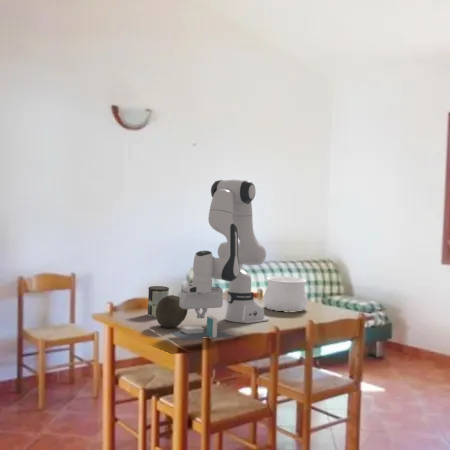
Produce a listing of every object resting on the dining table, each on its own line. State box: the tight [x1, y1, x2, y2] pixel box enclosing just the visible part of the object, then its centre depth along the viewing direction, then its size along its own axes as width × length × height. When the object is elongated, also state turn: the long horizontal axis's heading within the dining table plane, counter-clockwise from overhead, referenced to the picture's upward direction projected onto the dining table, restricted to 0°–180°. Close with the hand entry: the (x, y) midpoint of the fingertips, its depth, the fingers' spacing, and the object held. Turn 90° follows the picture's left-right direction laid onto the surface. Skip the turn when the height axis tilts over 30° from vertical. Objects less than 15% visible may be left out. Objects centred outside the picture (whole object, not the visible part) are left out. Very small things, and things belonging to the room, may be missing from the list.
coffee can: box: [147, 285, 170, 318], centre depth 320 cm, size 10×10×14 cm
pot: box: [263, 276, 308, 312], centre depth 353 cm, size 26×24×17 cm
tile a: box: [180, 325, 204, 334], centre depth 283 cm, size 2×6×8 cm
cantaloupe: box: [155, 294, 189, 329], centre depth 292 cm, size 14×14×15 cm
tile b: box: [206, 315, 218, 337], centre depth 277 cm, size 2×6×8 cm, turn 28°
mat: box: [168, 328, 234, 341], centre depth 280 cm, size 24×17×1 cm
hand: (200, 318), depth 284 cm, fingers closed
